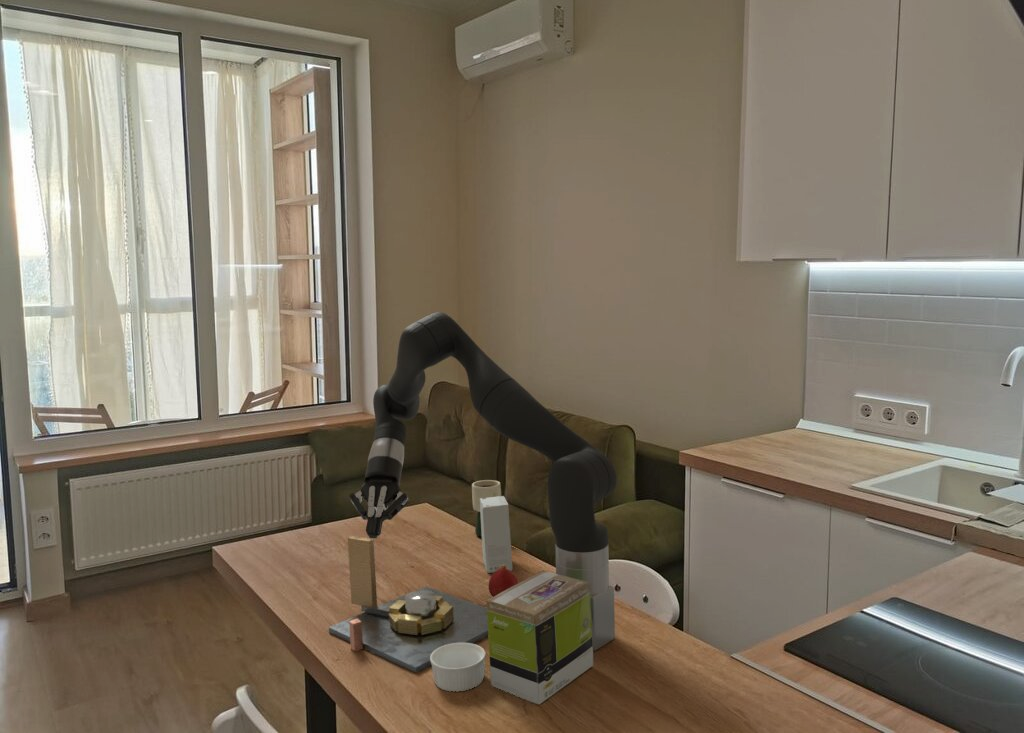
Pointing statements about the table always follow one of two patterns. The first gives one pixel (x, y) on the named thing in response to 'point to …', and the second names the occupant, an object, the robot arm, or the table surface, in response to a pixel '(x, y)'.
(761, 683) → the table surface
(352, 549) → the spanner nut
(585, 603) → the tea box
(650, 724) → the table surface
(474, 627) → the hub base
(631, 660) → the table surface
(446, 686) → the ramekin
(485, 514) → the skincare box
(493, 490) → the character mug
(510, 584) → the onion
